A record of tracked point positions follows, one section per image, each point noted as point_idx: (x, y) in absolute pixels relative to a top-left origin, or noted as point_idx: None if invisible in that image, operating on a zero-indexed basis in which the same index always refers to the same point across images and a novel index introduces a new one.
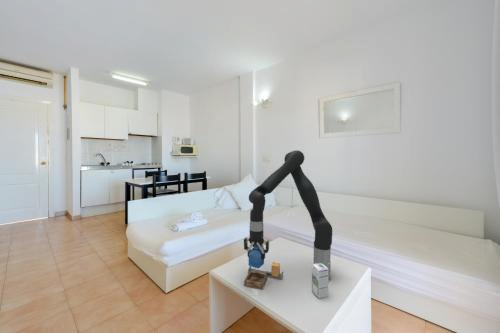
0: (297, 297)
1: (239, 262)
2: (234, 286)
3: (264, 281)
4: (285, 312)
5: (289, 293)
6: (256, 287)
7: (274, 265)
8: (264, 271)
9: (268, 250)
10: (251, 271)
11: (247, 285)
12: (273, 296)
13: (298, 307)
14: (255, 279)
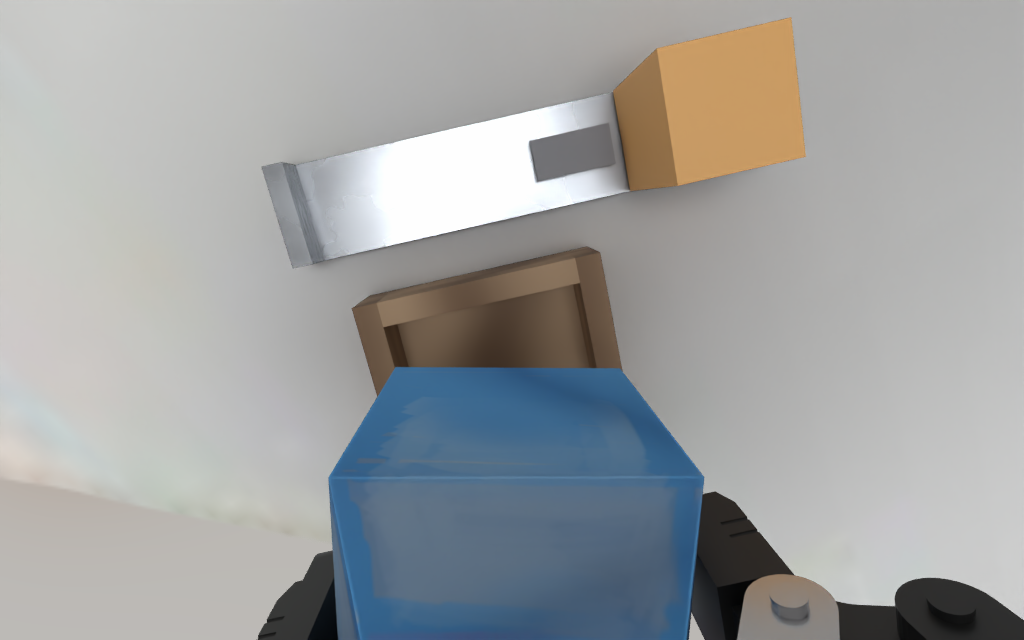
0: (984, 369)
1: (10, 60)
2: None
3: None
4: None
5: (897, 353)
6: None
7: (726, 159)
8: (494, 130)
9: (1001, 635)
10: (378, 316)
11: None
12: (762, 476)
13: (1010, 490)
14: (476, 347)
